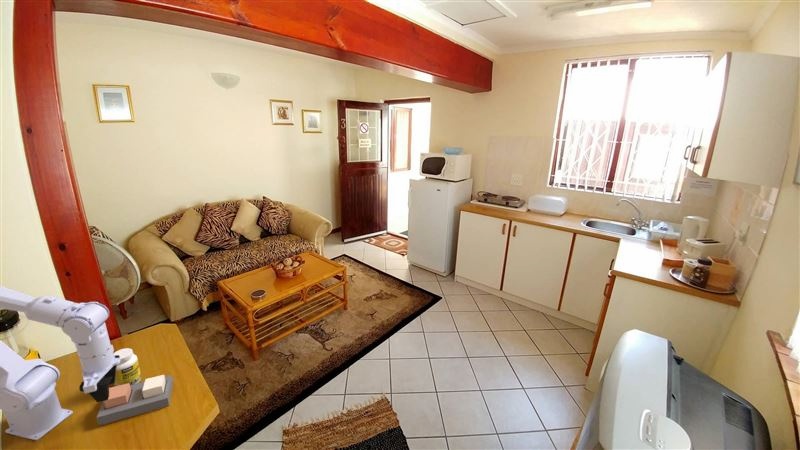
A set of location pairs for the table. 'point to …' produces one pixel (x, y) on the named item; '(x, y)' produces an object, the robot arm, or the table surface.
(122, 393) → the key terracotta
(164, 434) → the table surface
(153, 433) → the table surface
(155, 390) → the key cream
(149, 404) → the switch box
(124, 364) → the pill bottle
